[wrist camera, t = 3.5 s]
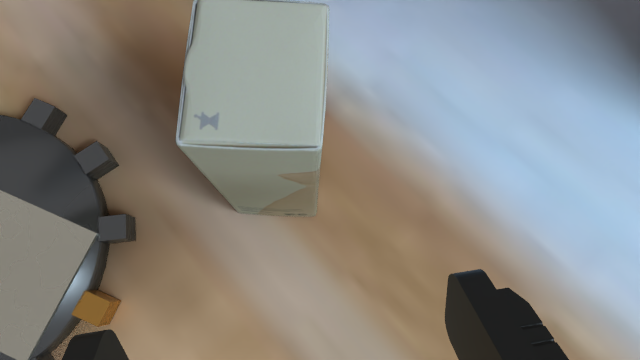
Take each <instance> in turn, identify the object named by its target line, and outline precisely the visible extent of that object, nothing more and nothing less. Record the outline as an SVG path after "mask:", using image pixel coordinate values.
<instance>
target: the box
mask: <svg viewBox="0 0 640 360" xmlns="http://www.w3.org/2000/svg"><path fill="white" fill-rule="evenodd" d="M328 41H329V6H328V5H326V4H322V3H313V2H300V1H289V0H194V2H193V7H192V13H191V19H190V26H189V32H188V39H187V47H186V55H185V62H184V70H183V78H182V86H181V94H180V104H179V113H178V121H177V132H176V144H177V146H178V147H179V148H180V149H181V150H182V151H183V153H184V154H185V155H186V156H187V157H188V158H189V159H190V160H191V161H192V162H193V163H194V165H195V166H196V167H197V168H198V169H199V170H200V171H201V172H202V173H203V174H204V175H205V177H206V178H207V179H208V180H209V181H210V182H211V183H212V184H213V186H214V187H215V188H216V189H217V190H218V191H219V192H220V193H221V194H222V195H223V196H224V198H225V199H226V200H227V201H228V202H229V203H230V204H231V206H232V207H233V208H234V209H235V210H236V211H237V212H239V213H245V214H257V215H272V216H308V217H311V216H315V215H316V212H317V199H318V186H319V174H320V163H321V152H322V144H323V132H324V120H325V109H326V93H327V72H328Z"/></svg>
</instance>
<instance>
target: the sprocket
mask: <svg viewBox="0 0 640 360" xmlns="http://www.w3.org/2000/svg"><path fill="white" fill-rule="evenodd" d="M66 117H67V115H66V114H65V113H63V112H62V111H60V110H59V109H58V108H56V107H55V106H52V105H50V104H48V103H45V102H43V101H41V100H38V99H36V98H34V100H33V101H32V103H31V105H30V106H29V108H28V109H27V111H26V113H25V114H24V116H23V117H22V119H21V120H19V119H16V118H12V117H7V116H3V115H0V360H54V358H53V357H52V355H51V352H52V351H53V350H54V349H56V348H57V347H58V346H59V345H60V343H61V342H62V341H63V340H64V339H65V338H66V337H67V336H68V335H69V334H70V333H71V332H72V331H73V329H74V328H75V327H76V325H77V324H78V323H79V322H80V320H81V319H82V320H84V321H87V322H89V323H91V324H93V325H95V326H97V327H98V326H103V325H108V324H110V322H111V320H112V318H113V316H114V314H115V312H116V310H117V308H118V306H119V304H120V302H121V301H120V300H118V299H116V298H114V297H111V296H109V295H107V294H105V293H103V292H101V291H98V288H99V286H100V283H101V280H102V277H103V274H104V270H105V267H106V262H107V257H108V252H109V244H110V243H119V242H127V241H136V232H135V217H132V216H130V215H127V214H122V215H113V216H109V215H108V210H107V206H106V201H105V198H104V195H103V192H102V190H101V187H100V184H99V183H98V181H97V179H99V178H100V177H102V176H104V175H105V174H107V173H108V172H110V171H111V170H113V169H114V168H116V167H117V166H119V165H118V163H117V162H116V160H115V159H114V157H113V156H112V154H111V153H110V151H109V150H108V148H106V147H105V146H103V145H102V144H100V143H99V142H97V141H96V142H95V143H93V144H91V145H90V146H88V147H87V148H85V149H84V150H82V151H81V152H79V153H76V152H75V151H74V150H73V149H72V148H71V147H70V146H68V145H67V144H66V143H64V142H63V141H61V140H60V139H58V138H57V137H55V135H56V133H57V131H58V130H59V128H60V126H61V125H62V123H63V121H64V120H65V118H66Z"/></svg>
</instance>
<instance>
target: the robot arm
mask: <svg viewBox="0 0 640 360" xmlns="http://www.w3.org/2000/svg"><path fill="white" fill-rule="evenodd" d="M445 324H446V329H447V333H448V336H449V339H450V342H451V344H452V346H453V348H454V350H455V353H456V355H457V357H458V359H459V360H569V359H568V358H567V356H566V355H565V354H564V352H563V351H562V349H561V348H560V346H559V345H558V344H557V343H555V342H554V338H553V337H552V335H551V334H550V332H549V331H548V330H547V328H546V327H545V326H543V324H542V321H541V320H540V318H539V317H538V315H537V314H536V313H535V311H534V310H533V308H532V307H531V306H530V304H529V303H528V302H527V301H525V300H524V299H523V298H521V297H520V296H519V295H517V294H516V293H515V292H513V291H512V290H511V289H510V288H503V289H497V290H496V288H495V287H494V285H493V283H492V282H491V280H490V279H489V277H488V276H487V274H486V273H485V272H484V271H483V270H481V269H478V270H472V271H466V272H460V273H454V274H450V275H449V278H448V286H447V297H446V308H445ZM62 360H129V359H128V357H127V355H126V353H125V351H124V349H123V347H122V346H121V344H120V342H119V340H118V338H117V336H116V334H115V333H114V332H113V331H112V330H103V331H97V332H91V333H85V334H79V335H76V336H74V337H73V338H72V339H71V341H70V342H69V344H68V347H67V349H66V351H65V354H64V356H63V358H62Z"/></svg>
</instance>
